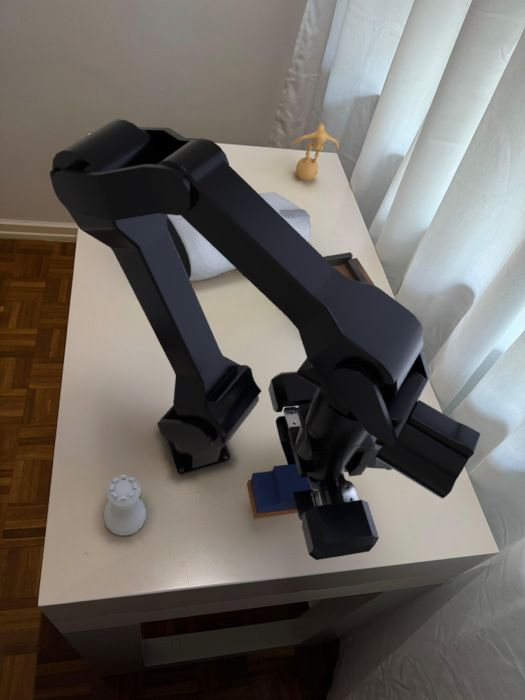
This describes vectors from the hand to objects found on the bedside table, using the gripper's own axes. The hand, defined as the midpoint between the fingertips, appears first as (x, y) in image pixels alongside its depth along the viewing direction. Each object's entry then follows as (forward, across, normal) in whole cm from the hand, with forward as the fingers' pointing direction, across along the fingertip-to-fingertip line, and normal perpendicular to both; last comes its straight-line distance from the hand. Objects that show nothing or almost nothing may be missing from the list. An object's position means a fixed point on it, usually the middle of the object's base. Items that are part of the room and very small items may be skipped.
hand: (300, 491), depth 62 cm
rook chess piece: (+5, +2, +19) cm, 19 cm away
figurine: (+5, +60, -17) cm, 62 cm away
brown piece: (+5, +30, -14) cm, 33 cm away
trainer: (+1, 0, +1) cm, 1 cm away
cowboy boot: (+5, +48, +2) cm, 48 cm away
